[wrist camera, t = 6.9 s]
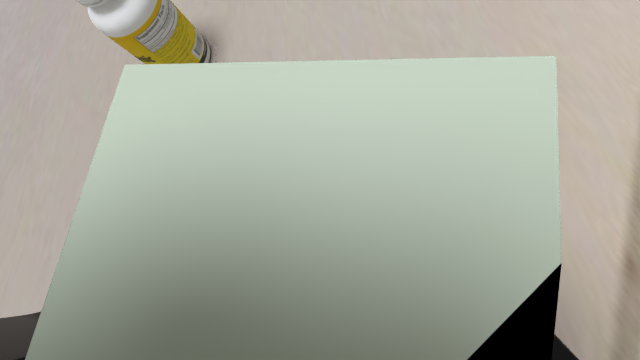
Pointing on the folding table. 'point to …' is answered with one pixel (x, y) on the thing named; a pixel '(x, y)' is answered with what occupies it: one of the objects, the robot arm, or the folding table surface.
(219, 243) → the sage post
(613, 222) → the folding table surface
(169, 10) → the supplement bottle
